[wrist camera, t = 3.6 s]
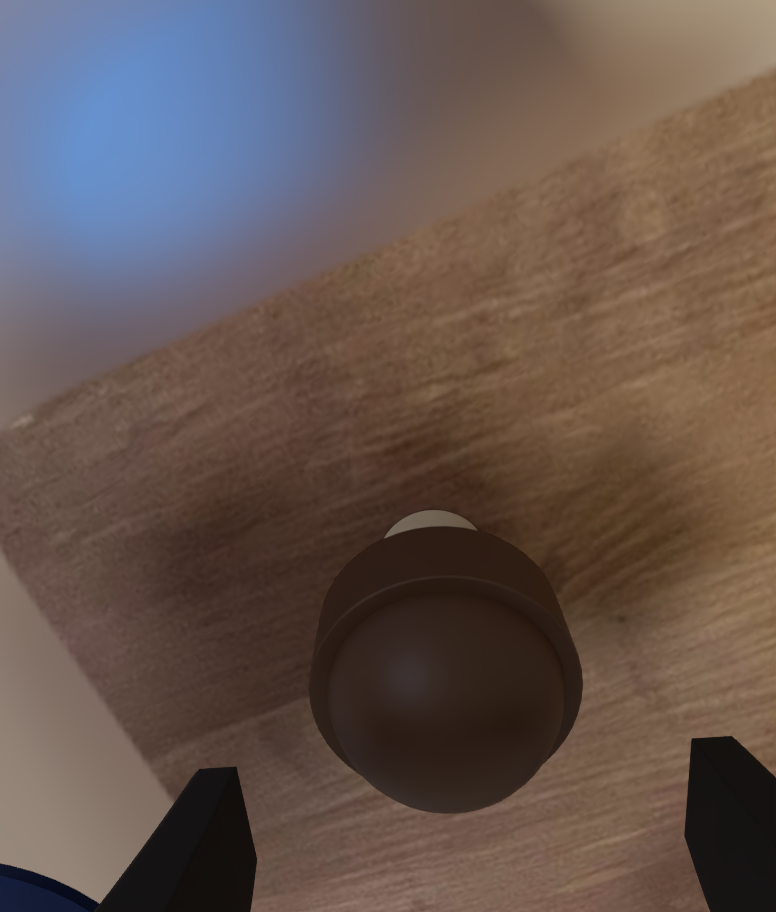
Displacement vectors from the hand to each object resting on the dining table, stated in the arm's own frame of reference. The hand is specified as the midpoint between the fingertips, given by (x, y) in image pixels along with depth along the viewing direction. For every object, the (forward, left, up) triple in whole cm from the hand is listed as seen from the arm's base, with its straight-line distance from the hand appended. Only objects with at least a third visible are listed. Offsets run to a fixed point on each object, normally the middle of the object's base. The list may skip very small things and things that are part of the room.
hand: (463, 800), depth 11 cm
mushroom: (0, 0, -8) cm, 8 cm away
